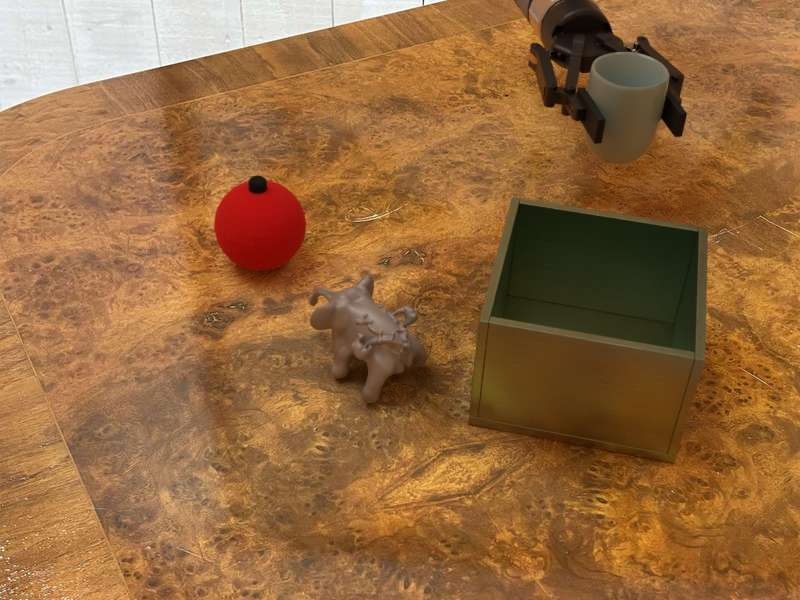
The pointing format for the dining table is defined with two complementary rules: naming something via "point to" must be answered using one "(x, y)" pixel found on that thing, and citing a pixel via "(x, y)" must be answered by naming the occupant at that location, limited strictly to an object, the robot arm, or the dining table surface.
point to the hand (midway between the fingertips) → (640, 128)
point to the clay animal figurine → (367, 334)
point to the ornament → (260, 224)
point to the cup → (627, 104)
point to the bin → (592, 329)
